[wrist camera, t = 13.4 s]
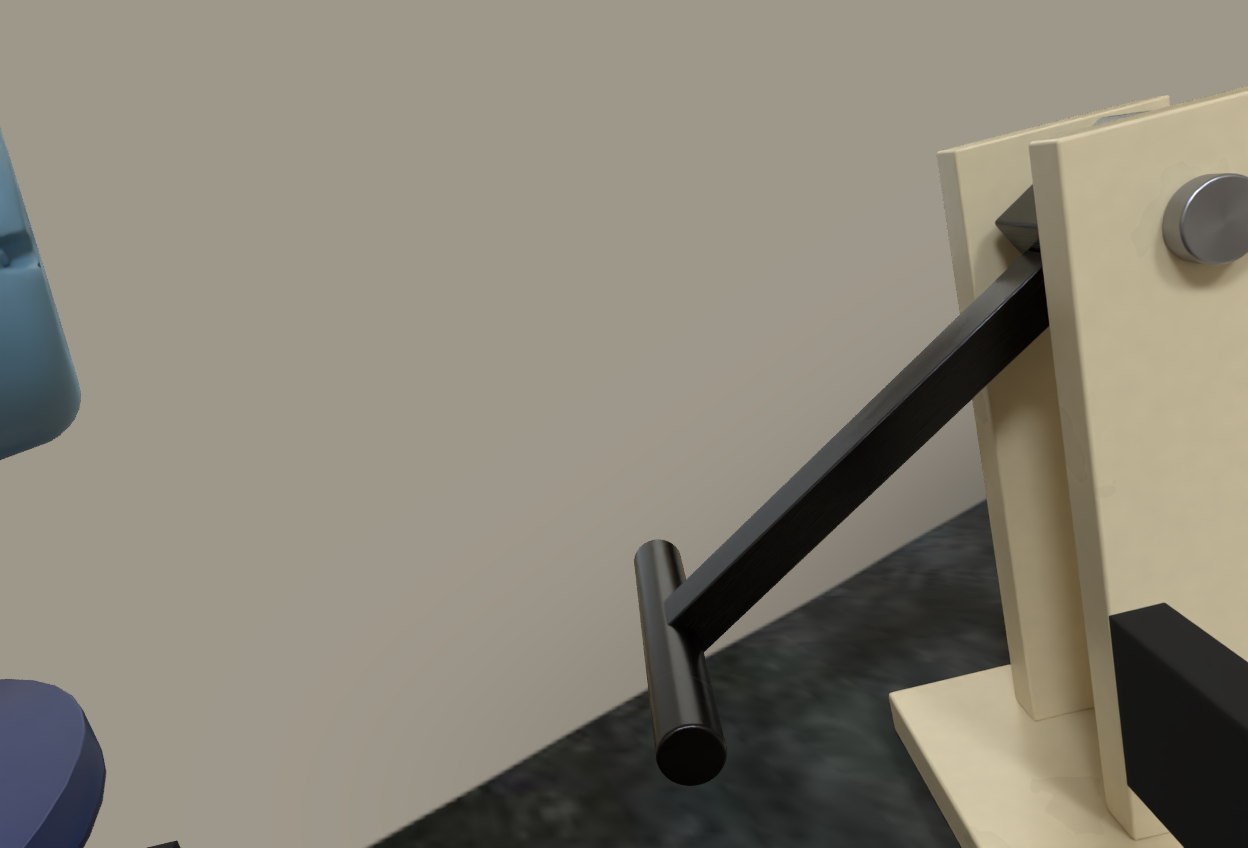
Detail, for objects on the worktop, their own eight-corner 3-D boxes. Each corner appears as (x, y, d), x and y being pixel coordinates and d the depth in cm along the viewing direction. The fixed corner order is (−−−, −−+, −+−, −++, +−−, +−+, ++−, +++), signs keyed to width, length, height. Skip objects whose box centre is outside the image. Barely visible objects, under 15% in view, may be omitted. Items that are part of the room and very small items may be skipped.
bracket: (1038, 988, 16) (915, 183, 12) (894, 729, 24) (790, 185, 20) (1580, 865, 16) (1630, 0, 12) (1256, 643, 24) (1222, 74, 20)
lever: (717, 820, 15) (615, 738, 14) (674, 604, 23) (607, 546, 22) (1400, 208, 13) (1306, 86, 12) (1093, 200, 20) (1028, 125, 20)
